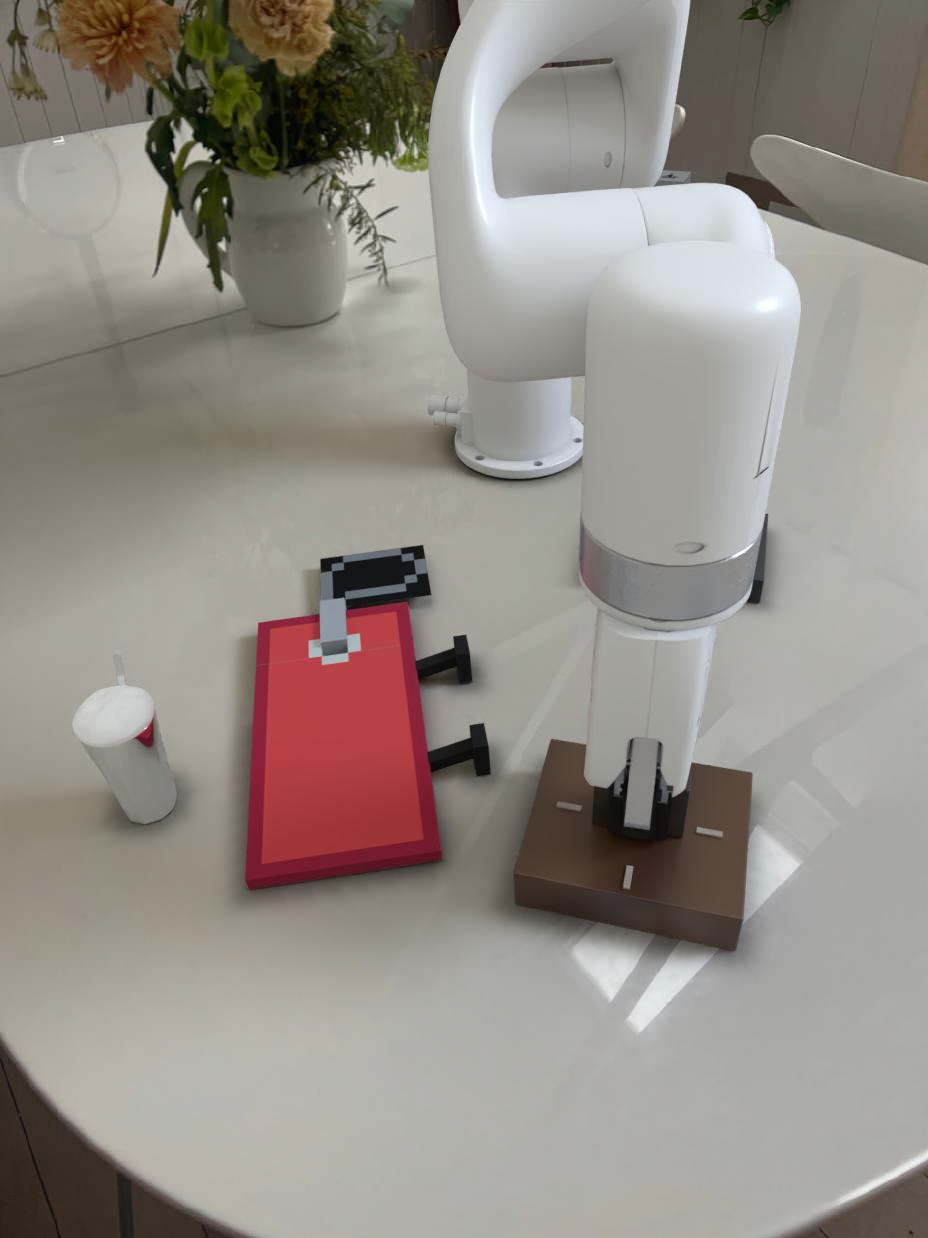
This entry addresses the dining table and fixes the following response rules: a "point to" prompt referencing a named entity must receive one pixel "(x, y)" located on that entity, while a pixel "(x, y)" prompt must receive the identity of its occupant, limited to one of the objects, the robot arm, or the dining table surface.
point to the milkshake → (128, 748)
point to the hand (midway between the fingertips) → (638, 815)
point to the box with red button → (676, 813)
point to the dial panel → (638, 856)
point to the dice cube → (673, 178)
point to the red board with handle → (348, 729)
